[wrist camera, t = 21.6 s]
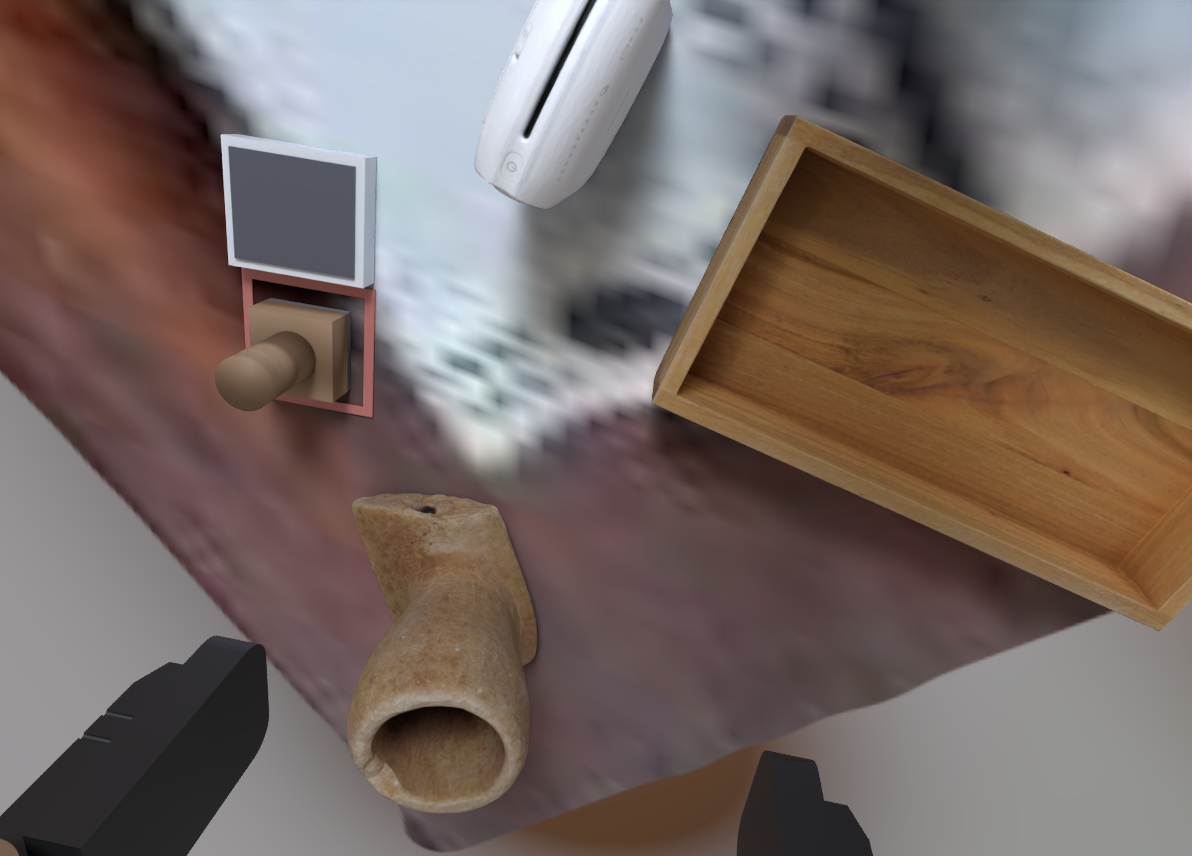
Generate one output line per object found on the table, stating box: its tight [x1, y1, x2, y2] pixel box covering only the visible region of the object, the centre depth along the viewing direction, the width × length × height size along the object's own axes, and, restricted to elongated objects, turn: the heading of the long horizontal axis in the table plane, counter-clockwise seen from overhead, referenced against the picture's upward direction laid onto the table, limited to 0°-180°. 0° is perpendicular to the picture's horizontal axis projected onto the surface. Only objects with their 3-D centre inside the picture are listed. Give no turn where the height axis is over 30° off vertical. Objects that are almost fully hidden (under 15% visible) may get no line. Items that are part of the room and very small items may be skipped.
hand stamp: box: [215, 298, 351, 411], centre depth 41 cm, size 5×5×8 cm
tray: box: [652, 115, 1192, 631], centre depth 38 cm, size 31×15×6 cm, turn 66°
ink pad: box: [221, 134, 376, 288], centre depth 41 cm, size 7×8×2 cm
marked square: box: [241, 267, 375, 417], centre depth 45 cm, size 8×8×1 cm
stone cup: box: [347, 493, 537, 814], centre depth 43 cm, size 15×12×15 cm
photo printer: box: [474, 0, 673, 209], centre depth 31 cm, size 10×4×12 cm, turn 150°
